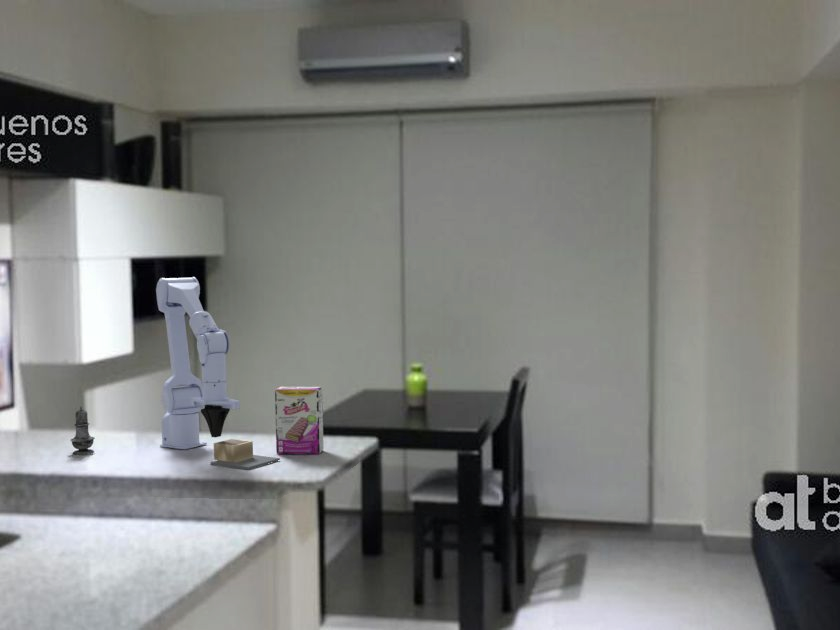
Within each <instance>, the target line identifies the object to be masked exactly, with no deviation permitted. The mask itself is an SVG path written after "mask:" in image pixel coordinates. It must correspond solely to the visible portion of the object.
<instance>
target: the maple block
mask: <svg viewBox="0 0 840 630" xmlns="http://www.w3.org/2000/svg"><path fill="white" fill-rule="evenodd" d="M253 442H254V441H252V440H244V439H236V438H230V439H226V440H225V439H224V440H222V441H217V442H214V443H213V459H214V461H217V460H220V461H227V462H235V463H236V462H240V461H243V460H247V459H250V458H253V455H254V446H253V445H254V444H253Z"/></svg>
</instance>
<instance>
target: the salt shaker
mask: <svg viewBox="0 0 840 630" xmlns="http://www.w3.org/2000/svg"><path fill="white" fill-rule="evenodd" d="M88 421H89V419H88V411H87V410H86V409H83V407H82V406H79V409H78V410H76V412H75V424H74V427H75V435H74V437H73V438H71V439H70V442H71V445H72V447H73V448H74V449H76V450H74V451H73V452H72V455H74V456H83V455H89V454H93V453H95V450H93V449H91V448H92V446H93V444H94V440H95V436H91V435H90V432H89V425H90V423H89V422H88Z"/></svg>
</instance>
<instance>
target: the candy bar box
mask: <svg viewBox="0 0 840 630" xmlns="http://www.w3.org/2000/svg"><path fill="white" fill-rule="evenodd" d="M274 398H275V400H274V402H275V404H274V405H275V406H274V407H275V439H276V442H275V445H276V447H275V448H276V449H275V450H276V454H277V455H321V453H322V452H324V414H323V413H324V412H323V411H324V408H323V387H322V386H278V387H277V388H274Z"/></svg>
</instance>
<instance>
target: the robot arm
mask: <svg viewBox="0 0 840 630" xmlns="http://www.w3.org/2000/svg"><path fill="white" fill-rule="evenodd" d="M200 291H201V286H200V283H199V280H198V279H197V277H195V276H192V277H178V278H177V277H169V278H167V277H166V278H165V277H160V278H159V280H158V281H157V284H156V288H155V292H156V294H155V295H156V302H157V308H158V311H160V312H161V313H164V318H165V326H166V333H167V343H168V352H169V359H170V360H169V361H170V368H171V369H170V370H171V376H170V377H169V378H168V379H167V380H165V382H164V383H163V384H162V386H161V387H162V396H161V401H162V402H161V403H162V407H163V409H164V410H165V411H166V413H165V414H164V415H163V417H162V419H161V440H162V441H161V443H162V444H161V443H160V444H159V447H161V448H169V449H170V448H172V449H177V450H188V449H189V450H190V449H193V448H196V447H200V446H205V445H207V444H208V443H207V442H206V441H200V423H199V420H200V417H199V412H200V413H201V415H202V416H203V417H204V419H205V421H206V423H207V426H208V429H209V434H210V437H211V438H219V437H221V436H222V433H223V429H224V424H225V421H226V418H227V417H228V414H229V413H230V411H231V410H234V411H235V410H239V409H241V400H238V399H237V400H236V399H233V398H230V397H229V398H228V394H227V393H228V392H227V391H228V390H227V389H228V388H227V362H226V361H227V359H226V358H227V357H226V356H227V355H228V353H229V350H230V338H229V335H228V333H227V331H226V330H222V328H220V329H219V327H218V326H217V324H216V322H215V320H214V318H213V317H212V315H211V314H210V313H209V312H208V311H204V309H203V305H202V303H201V301H200V299H199V298H200V294H201V292H200ZM186 314H187V315H188V316H189V321H188V323H189V327H190V329H191V330H192V333H193V335H194V337H195V338H196V340H197V341H196V348H197V353H198V358H199V363H201V379H200V378H198V377H197V376H195V375H193V373H192V370H191V369H192V368H191V363H190V362H191V361H190V354H189V352H190V351H189V344H188V336H187V328H186V319H185V318H186V317H185V315H186ZM201 380H202V381H201ZM203 407H204V408H203Z"/></svg>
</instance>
